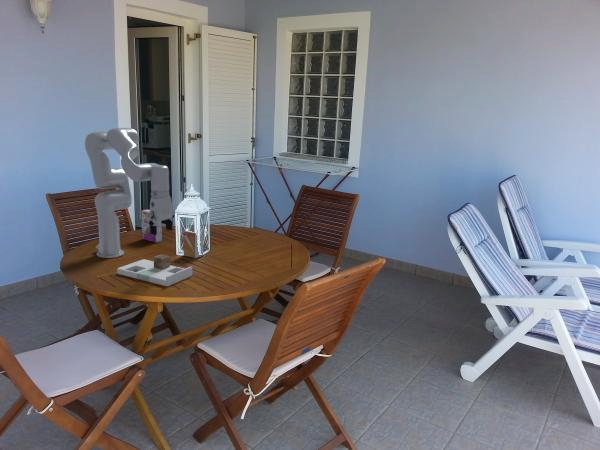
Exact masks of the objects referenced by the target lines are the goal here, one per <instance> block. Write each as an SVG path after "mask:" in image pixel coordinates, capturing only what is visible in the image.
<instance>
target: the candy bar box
mask: <svg viewBox="0 0 600 450" xmlns="http://www.w3.org/2000/svg"><path fill="white" fill-rule="evenodd" d="M140 211H141V213H140V215H141V216H140V217H141V218H140V219H141V237H142V238H141V239H142V240H145V241H148V242H153V243H160V242H163V225H162V224H163V223H162V222H163V221H157V223H156V225H155V226H157V235H153V234H150V225H149V224H148V223H147V220H146V216H147V215H148V214H149V213H150V209H143V210H140ZM153 223H154V221H153Z"/></svg>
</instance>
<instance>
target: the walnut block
mask: <svg viewBox="0 0 600 450" xmlns="http://www.w3.org/2000/svg"><path fill="white" fill-rule="evenodd" d="M152 258H153V261H154V268H158V269H162V270H163V269H165V268H168V267H170V265H171V255H166V254H162V253H161V254H159V255H154V256H153V257H152Z"/></svg>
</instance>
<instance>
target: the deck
mask: <svg viewBox="0 0 600 450" xmlns="http://www.w3.org/2000/svg"><path fill="white" fill-rule="evenodd" d="M116 272H117V274H118V275H121V276H124V277H129V278H133V279H136V280H137V279H138V280H139V281H140V280H141V281H144V282H149V283H152V284H157V285H160V286H163V287H170V286H172V285H175V284H176V283H179V282H182V281H184V280H185V279H188V278H190V277H192V276H193V266H188V267H186V268H184V267H178V266H176V265H171V264H170V267H168V268H165V269H163V270H162V269H158V268H154V260H148V259H144V258H143V259H140V260H137V261H134V262H131V263H129V264H126V265H123V266H120V267H118V268H117V271H116Z"/></svg>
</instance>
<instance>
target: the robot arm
mask: <svg viewBox="0 0 600 450" xmlns="http://www.w3.org/2000/svg"><path fill="white" fill-rule="evenodd" d="M139 142H140V135H139V133H138V131H136V130H135V129H134V128H132V127H114V128H111V129H108V131H95V132H93V131H92V132H91V133H88V134H87V135H86V137H85V139H84V148H85V151H86V154H87V156H88V159H89V161H90V166H91V170H92V176H93V181H94V185H95V186H96V188H97V189H100V190H108V189H115V190H110V191H103V192H99V193H98V194H96V196H95V198H94V206H95V209H96V213H97V223H98V224H97V226H98V238H99V241H98V244H97V245H96V246H95V248H96V249H98V251H97V252H96V256H97V257H98V258H103V259H114V258H118V257H121V256H123V255H124V254H125V251H124V250H123V249H121V237H120V236H121V235H120V234H121V233H120V232H121V231H120V219H119V216H118V215H117V213H115V211H119V210H126V209H128V208H130V207H131V206H132V202H133V201H132V199H133V198H132V192H131V188H130V187H131V186H130V180H132V181H133V182H140V183H141V182H149V181H150V191H151V193H150V196H151V197H150V202H149V210H150V213H149V214H148V215H147V216H146V220H147V223H148V224H149V225H150V234H153V235H157V226H155V225H156V223H157V221H162V222H163V221H165V230H167V231H172V230H173V221H174V218H175V213H176V210H174V209H173V203H172V202H173V201H172V197H171V196H170V178H169V177H170V170H169V167H168V166H167V165H164V164H163V165H162V164H158V163H156V162H149V163H137V164H136V163H135V161H133V160H135V159H136V158H137V156H138V155H139V154H140V153H139V152H140V147H139V146H138V144H139ZM109 150H110V151H111V150H114V151H115V152H116V153H117V154H118V155H119V156H120V165H121V168H120V167H113V168H112V167H111V162H110V158H109V157H108V155H107V154H106V153H105V152H104V151H109ZM129 179H130V180H129ZM153 221H154V223H153Z"/></svg>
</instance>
